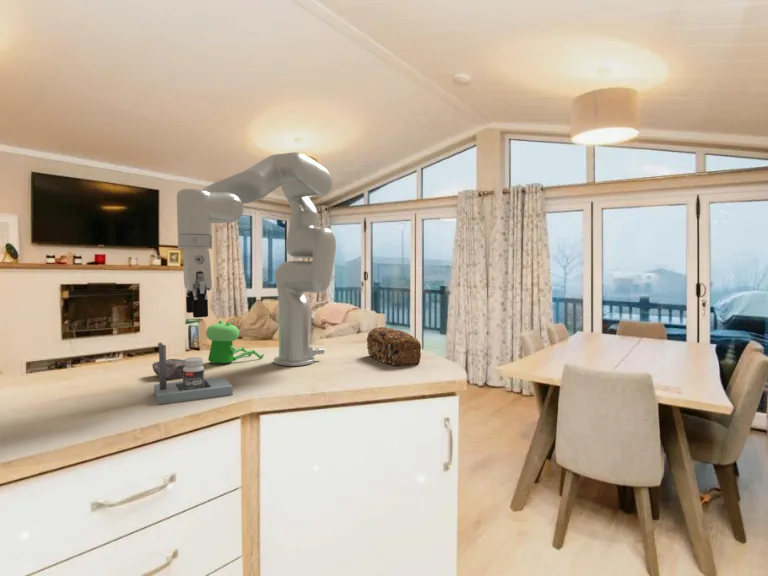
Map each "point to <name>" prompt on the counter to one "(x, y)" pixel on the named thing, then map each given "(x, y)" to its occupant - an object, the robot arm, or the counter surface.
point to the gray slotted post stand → (176, 394)
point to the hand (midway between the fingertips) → (196, 314)
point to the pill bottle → (193, 374)
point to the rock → (171, 368)
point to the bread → (393, 346)
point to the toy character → (225, 343)
